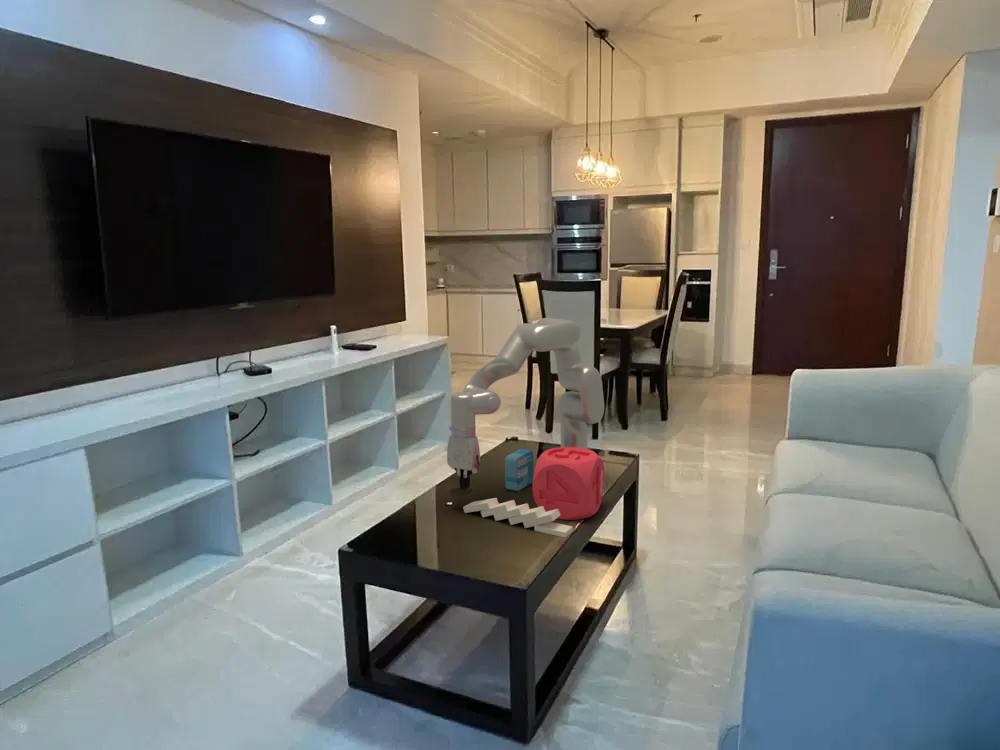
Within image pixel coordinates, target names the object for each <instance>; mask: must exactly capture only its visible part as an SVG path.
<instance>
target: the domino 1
mask: <svg viewBox="0 0 1000 750" xmlns="http://www.w3.org/2000/svg"><path fill="white" fill-rule="evenodd" d="M497 504H499V501H498V497H493V498H487V499H482V500H476V501H472V502H470V503H468V504H466V505H464V506H463V507H462V508H463V512H464V514H467V513H472V512H473V513H475V512H479V511H482V510H486V509H490V508H492V507H494V506H496V505H497Z"/></svg>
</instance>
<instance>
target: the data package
mask: <svg viewBox="0 0 1000 750" xmlns="http://www.w3.org/2000/svg"><path fill="white" fill-rule="evenodd" d="M504 462H505V463H504V470H505V471H504V474H505V475H504V477H505V484H504V485H505V488H506V490H508V491H514V492H519V491H521V490H523V489H525V488H526V487H528V486H529V485H531V484H533V475H534V452H533V450H529V449H523V448H521V449H518V450H516V451H514V452H512V453H510V454H509V455H506V457H505V460H504Z"/></svg>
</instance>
